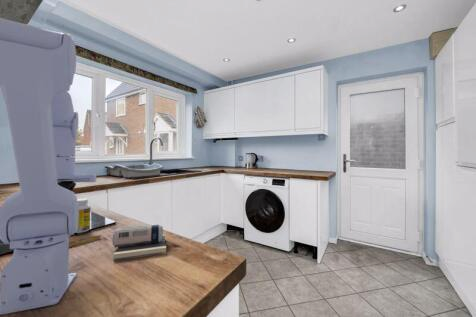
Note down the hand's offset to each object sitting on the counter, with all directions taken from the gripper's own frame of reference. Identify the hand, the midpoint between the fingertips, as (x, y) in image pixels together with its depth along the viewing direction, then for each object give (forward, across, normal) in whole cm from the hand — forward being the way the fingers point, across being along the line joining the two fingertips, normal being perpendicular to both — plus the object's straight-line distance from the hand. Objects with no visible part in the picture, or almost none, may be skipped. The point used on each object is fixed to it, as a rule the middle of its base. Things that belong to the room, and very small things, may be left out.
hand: (59, 212), depth 52 cm
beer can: (+8, -12, 0) cm, 14 cm away
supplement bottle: (+11, +1, -19) cm, 22 cm away
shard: (+11, 0, -9) cm, 14 cm away
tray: (+10, -18, +2) cm, 21 cm away
